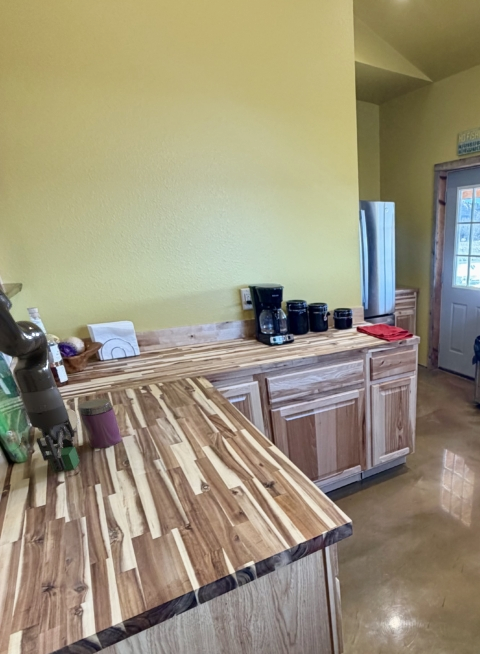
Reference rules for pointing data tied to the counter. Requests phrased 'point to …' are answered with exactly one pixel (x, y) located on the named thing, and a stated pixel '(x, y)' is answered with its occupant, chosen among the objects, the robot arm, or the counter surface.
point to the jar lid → (95, 406)
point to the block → (69, 458)
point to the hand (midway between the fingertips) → (66, 462)
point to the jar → (102, 429)
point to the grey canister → (71, 418)
